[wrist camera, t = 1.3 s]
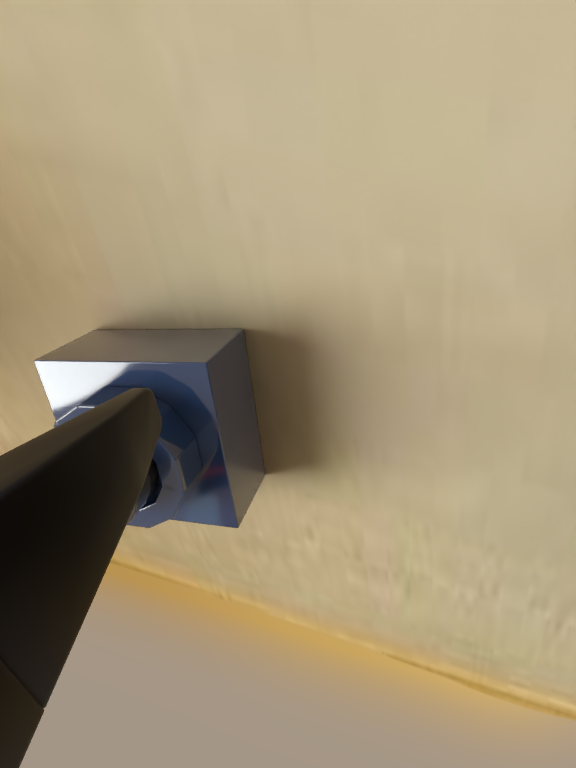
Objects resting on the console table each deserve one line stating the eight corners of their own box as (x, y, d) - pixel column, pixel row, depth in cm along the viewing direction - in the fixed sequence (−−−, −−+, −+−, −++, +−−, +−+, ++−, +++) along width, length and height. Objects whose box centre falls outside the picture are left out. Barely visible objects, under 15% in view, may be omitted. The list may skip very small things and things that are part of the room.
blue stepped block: (265, 474, 29) (223, 558, 23) (133, 462, 31) (64, 534, 25) (243, 328, 24) (184, 382, 18) (93, 329, 27) (-1, 377, 21)
